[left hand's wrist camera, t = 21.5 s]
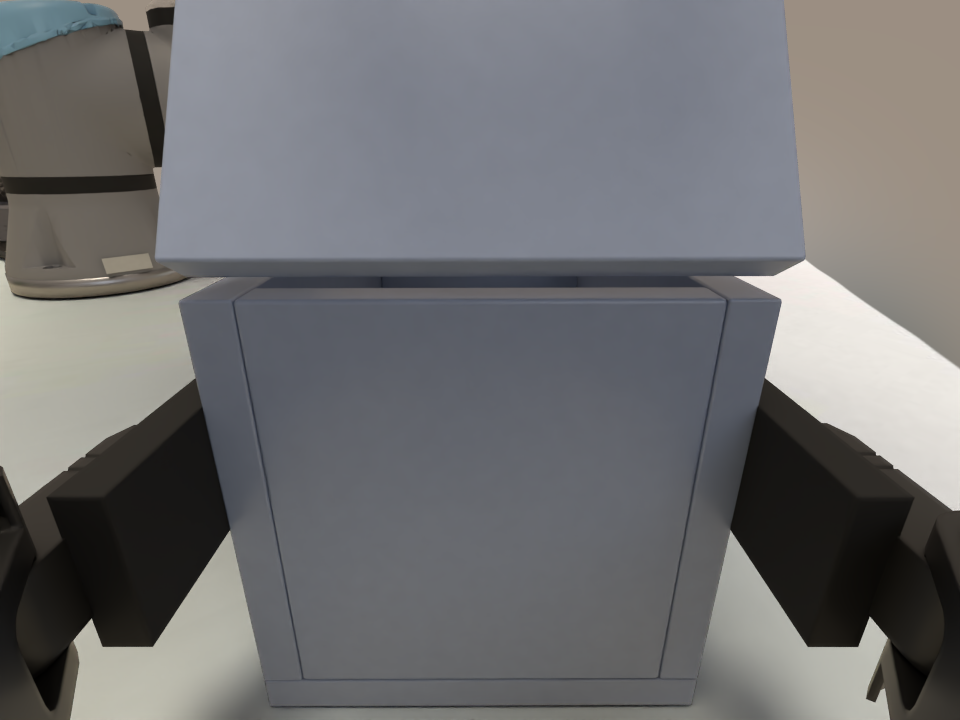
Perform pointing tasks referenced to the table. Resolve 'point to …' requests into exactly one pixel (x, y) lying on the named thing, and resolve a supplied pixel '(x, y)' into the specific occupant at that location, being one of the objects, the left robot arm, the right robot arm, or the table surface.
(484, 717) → the table surface
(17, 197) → the right robot arm
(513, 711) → the table surface
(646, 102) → the lid
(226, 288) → the chest
